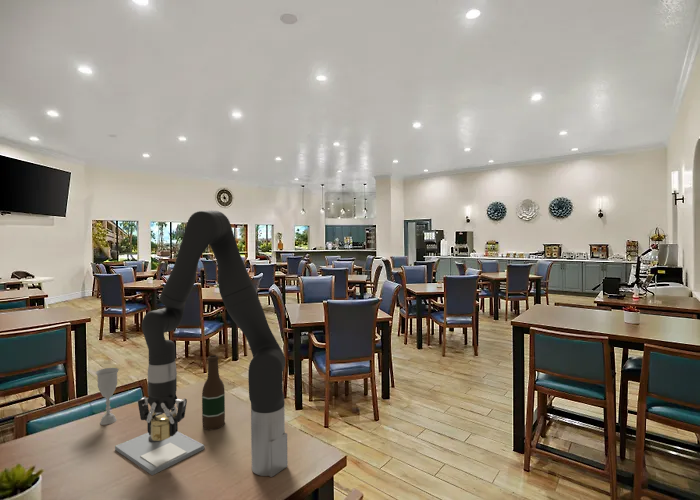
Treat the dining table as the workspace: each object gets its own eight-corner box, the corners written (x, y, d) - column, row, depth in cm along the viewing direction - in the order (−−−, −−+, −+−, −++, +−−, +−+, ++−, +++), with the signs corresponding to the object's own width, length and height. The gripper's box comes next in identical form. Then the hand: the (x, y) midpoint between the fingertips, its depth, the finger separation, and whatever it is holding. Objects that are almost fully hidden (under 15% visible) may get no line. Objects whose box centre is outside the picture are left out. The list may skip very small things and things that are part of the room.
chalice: (123, 420, 135) (122, 370, 135) (102, 428, 129) (101, 375, 129) (113, 415, 139) (112, 366, 138) (92, 422, 133) (91, 371, 133)
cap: (165, 442, 107) (165, 424, 106) (145, 441, 107) (145, 423, 107) (178, 429, 114) (178, 413, 113) (159, 429, 114) (159, 412, 114)
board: (204, 448, 116) (204, 419, 116) (152, 475, 103) (151, 442, 103) (166, 428, 129) (165, 401, 128) (115, 449, 116) (114, 420, 115)
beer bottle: (229, 419, 135) (228, 353, 134) (219, 430, 127) (218, 359, 127) (208, 419, 136) (207, 352, 135) (197, 429, 128) (196, 359, 127)
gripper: (130, 381, 107) (130, 439, 107) (178, 382, 106) (179, 442, 106) (146, 371, 114) (147, 426, 115) (192, 373, 113) (192, 429, 114)
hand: (162, 434), depth 110 cm, fingers closed on cap, 5 cm apart
